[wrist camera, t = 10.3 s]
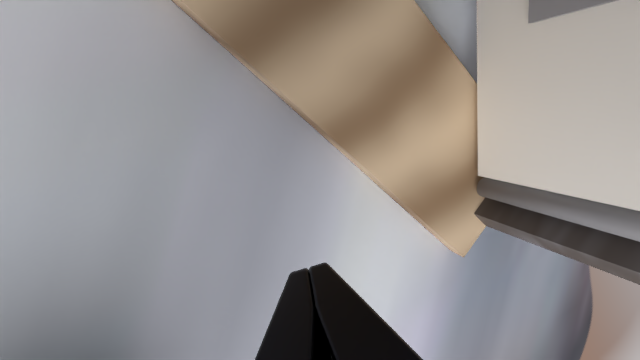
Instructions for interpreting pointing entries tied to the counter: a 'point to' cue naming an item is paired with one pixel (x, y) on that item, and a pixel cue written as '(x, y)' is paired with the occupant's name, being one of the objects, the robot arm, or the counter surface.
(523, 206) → the door
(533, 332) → the counter surface
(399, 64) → the door base
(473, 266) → the counter surface
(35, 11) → the counter surface
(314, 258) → the counter surface
